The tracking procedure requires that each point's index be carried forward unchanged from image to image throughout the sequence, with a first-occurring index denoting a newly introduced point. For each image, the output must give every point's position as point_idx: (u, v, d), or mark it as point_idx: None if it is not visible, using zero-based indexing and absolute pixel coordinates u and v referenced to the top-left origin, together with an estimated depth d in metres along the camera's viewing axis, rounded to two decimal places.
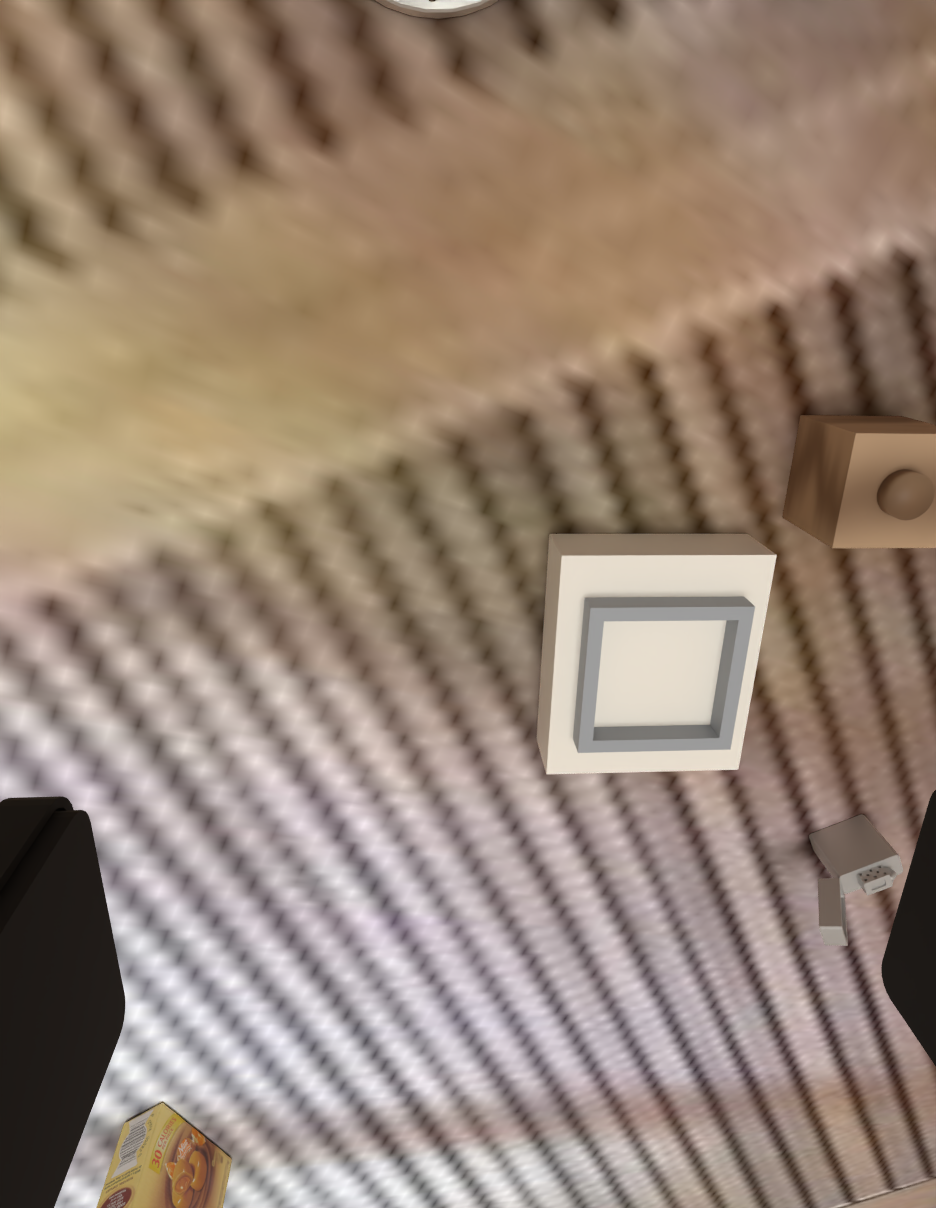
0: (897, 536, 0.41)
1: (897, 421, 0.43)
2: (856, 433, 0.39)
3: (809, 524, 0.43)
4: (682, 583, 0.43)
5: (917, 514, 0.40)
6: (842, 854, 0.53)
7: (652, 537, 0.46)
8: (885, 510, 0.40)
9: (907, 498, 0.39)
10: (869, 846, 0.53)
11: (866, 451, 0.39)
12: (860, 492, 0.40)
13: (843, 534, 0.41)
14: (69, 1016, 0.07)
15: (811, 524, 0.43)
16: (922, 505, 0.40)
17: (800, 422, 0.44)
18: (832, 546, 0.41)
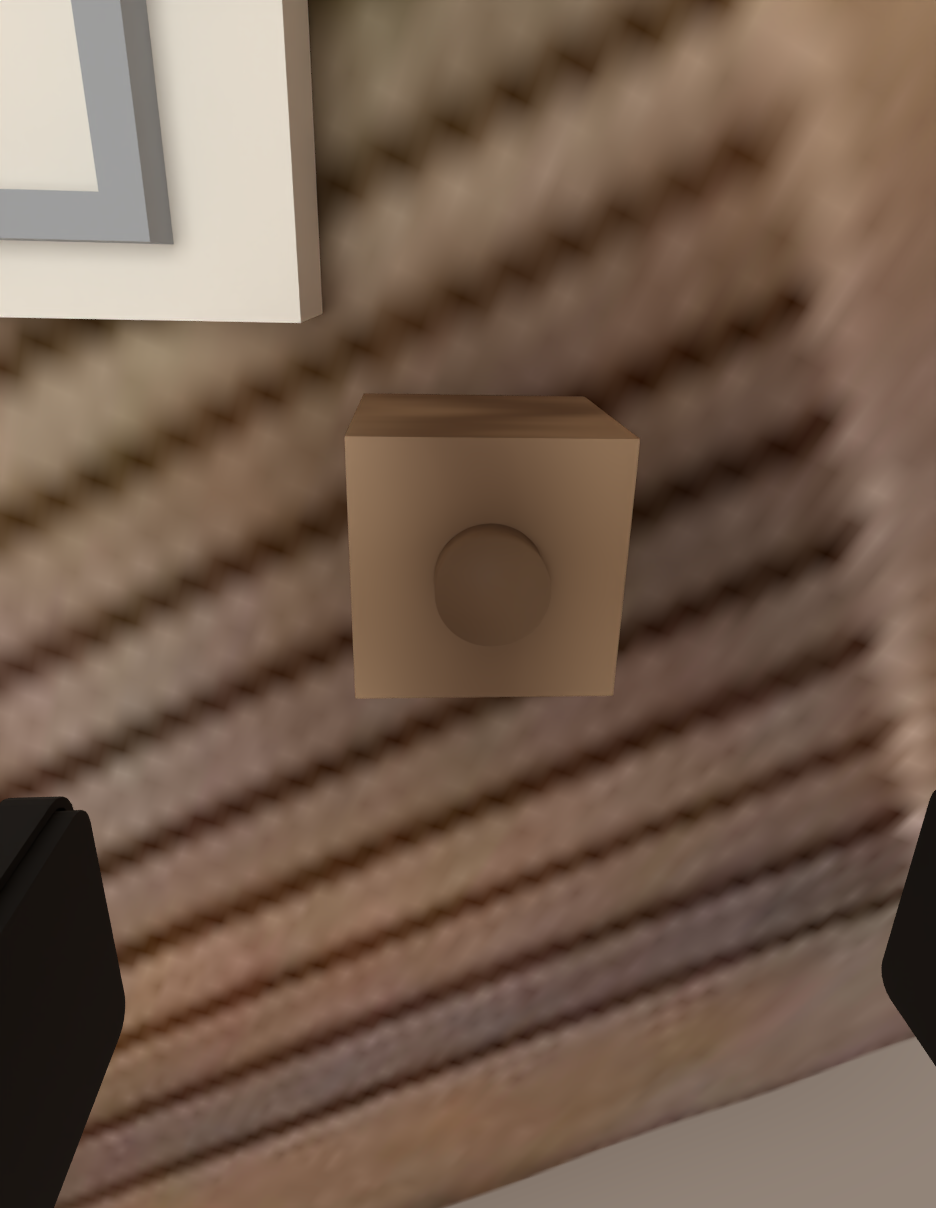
0: (379, 595, 0.17)
1: None
2: (638, 439, 0.16)
3: (376, 413, 0.18)
4: (194, 28, 0.14)
5: (449, 617, 0.16)
6: None
7: (304, 22, 0.17)
8: (452, 545, 0.16)
9: (490, 585, 0.16)
10: None
11: (592, 475, 0.16)
12: (493, 481, 0.16)
13: (383, 458, 0.16)
14: (69, 1016, 0.07)
15: (377, 414, 0.18)
16: (472, 624, 0.16)
17: (571, 396, 0.21)
18: (348, 437, 0.16)
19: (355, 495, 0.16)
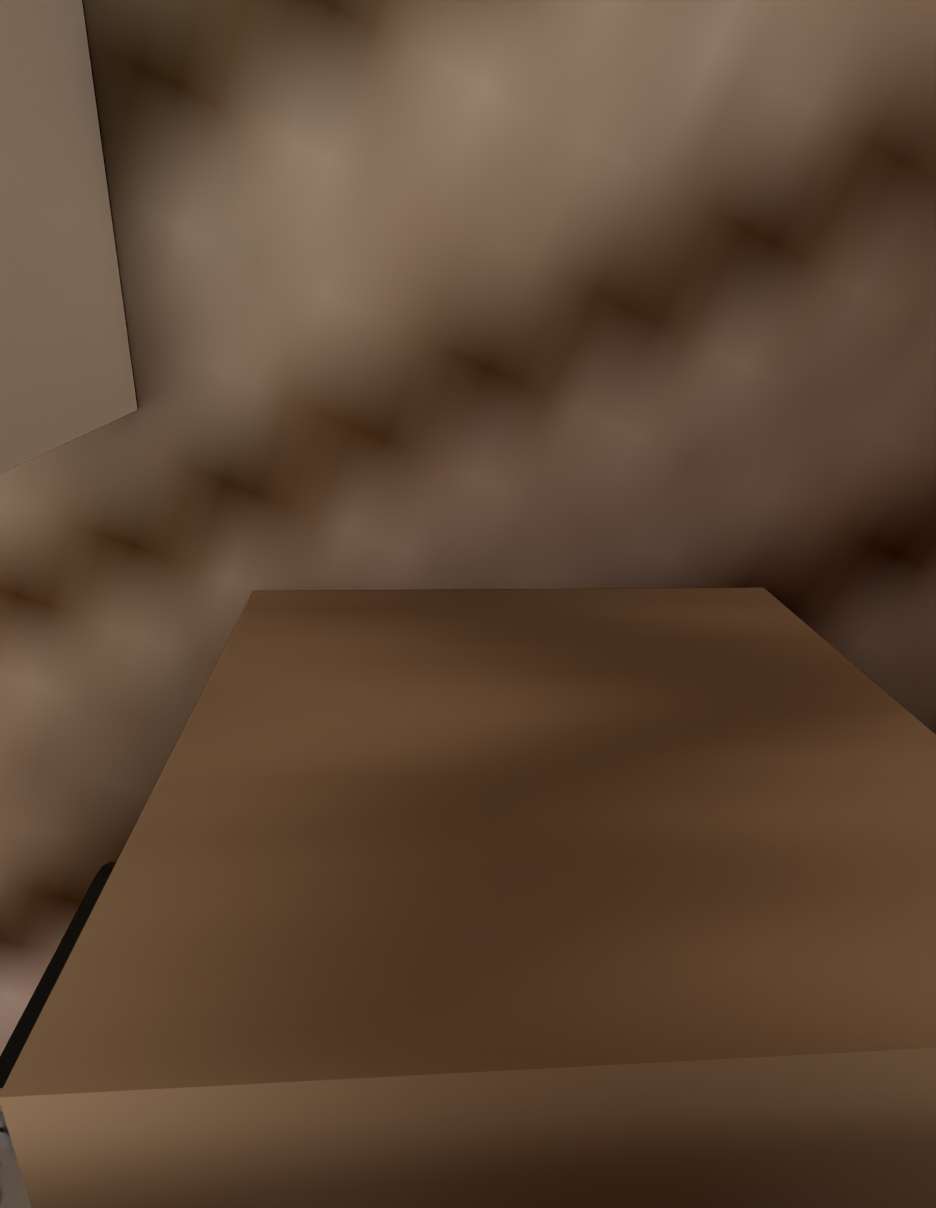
0: None
1: None
2: None
3: (240, 748, 0.06)
4: None
5: None
6: None
7: None
8: None
9: None
10: None
11: None
12: (659, 1187, 0.04)
13: (193, 1151, 0.04)
14: None
15: (240, 761, 0.06)
16: None
17: (739, 594, 0.09)
18: (22, 1090, 0.03)
19: None
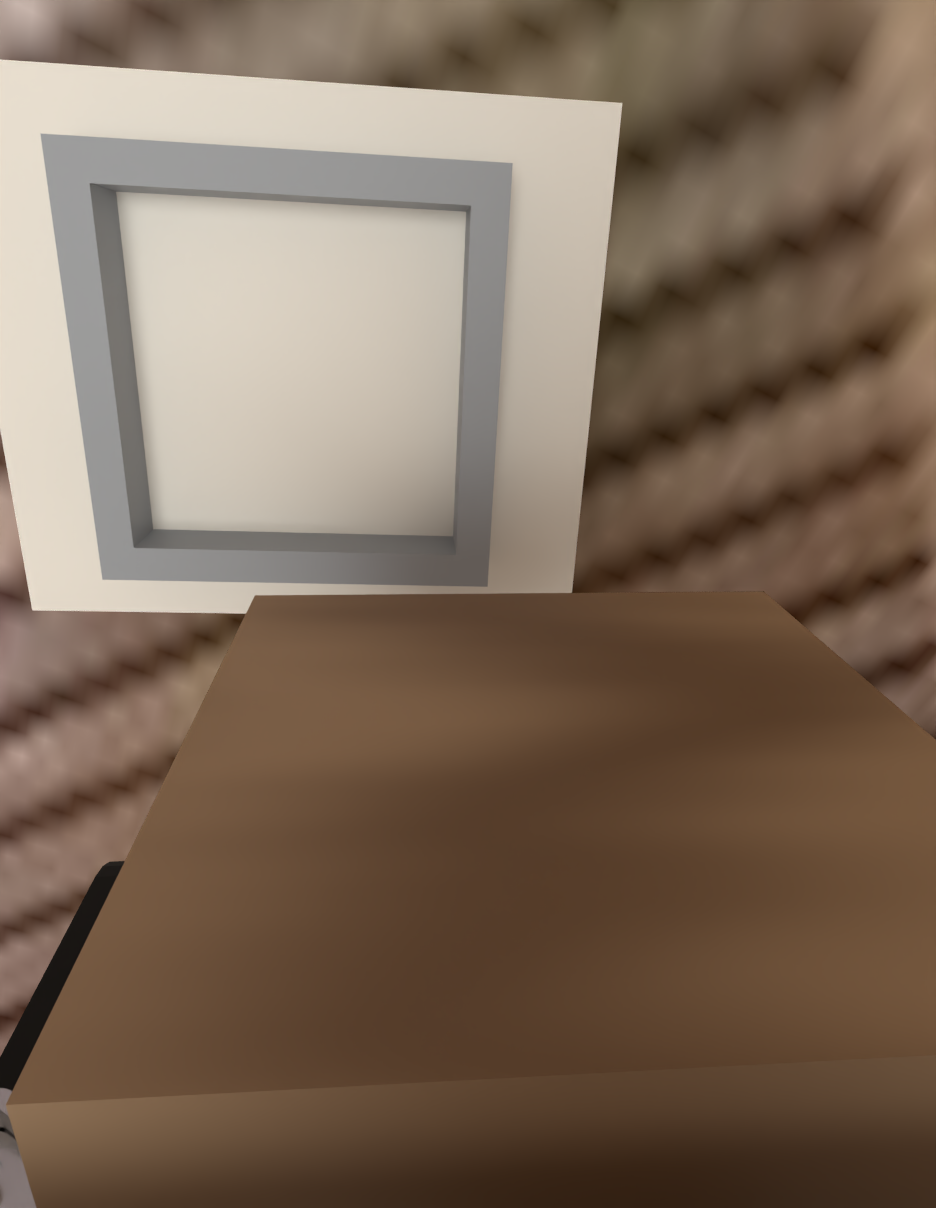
0: None
1: None
2: None
3: (243, 754, 0.06)
4: (523, 426, 0.19)
5: None
6: None
7: None
8: None
9: None
10: None
11: None
12: (661, 1192, 0.04)
13: (199, 1159, 0.04)
14: None
15: (243, 767, 0.06)
16: None
17: (739, 598, 0.09)
18: (29, 1097, 0.03)
19: None
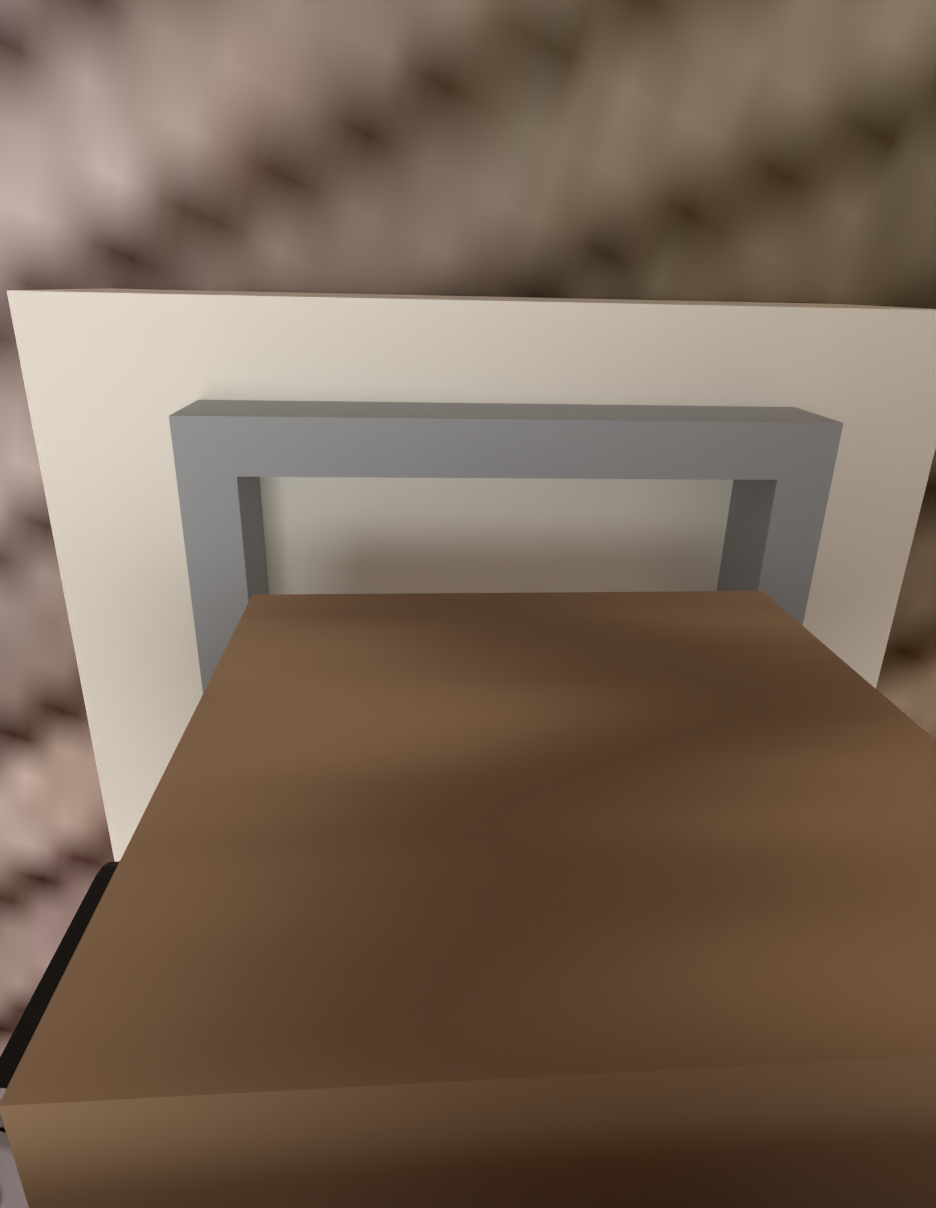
0: None
1: None
2: None
3: (240, 753, 0.06)
4: None
5: None
6: None
7: None
8: None
9: None
10: None
11: None
12: (658, 1193, 0.04)
13: (191, 1159, 0.04)
14: None
15: (239, 766, 0.06)
16: None
17: (738, 598, 0.09)
18: (22, 1098, 0.03)
19: None
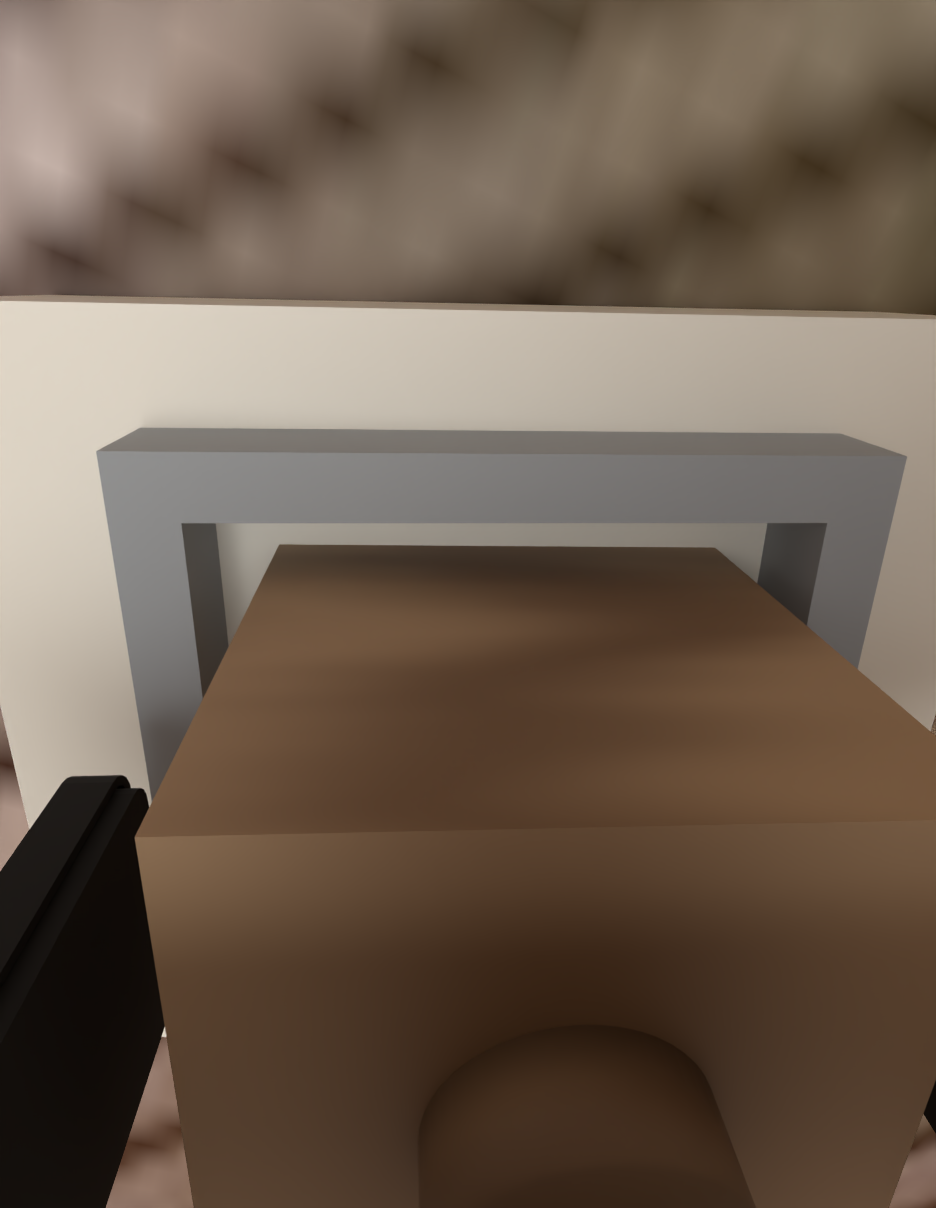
0: (269, 1184, 0.06)
1: None
2: None
3: (280, 650, 0.07)
4: None
5: None
6: None
7: None
8: (474, 1126, 0.05)
9: None
10: None
11: (877, 909, 0.06)
12: (593, 931, 0.05)
13: (264, 887, 0.05)
14: (131, 983, 0.08)
15: (280, 658, 0.07)
16: None
17: (693, 552, 0.11)
18: (149, 835, 0.05)
19: (183, 980, 0.05)
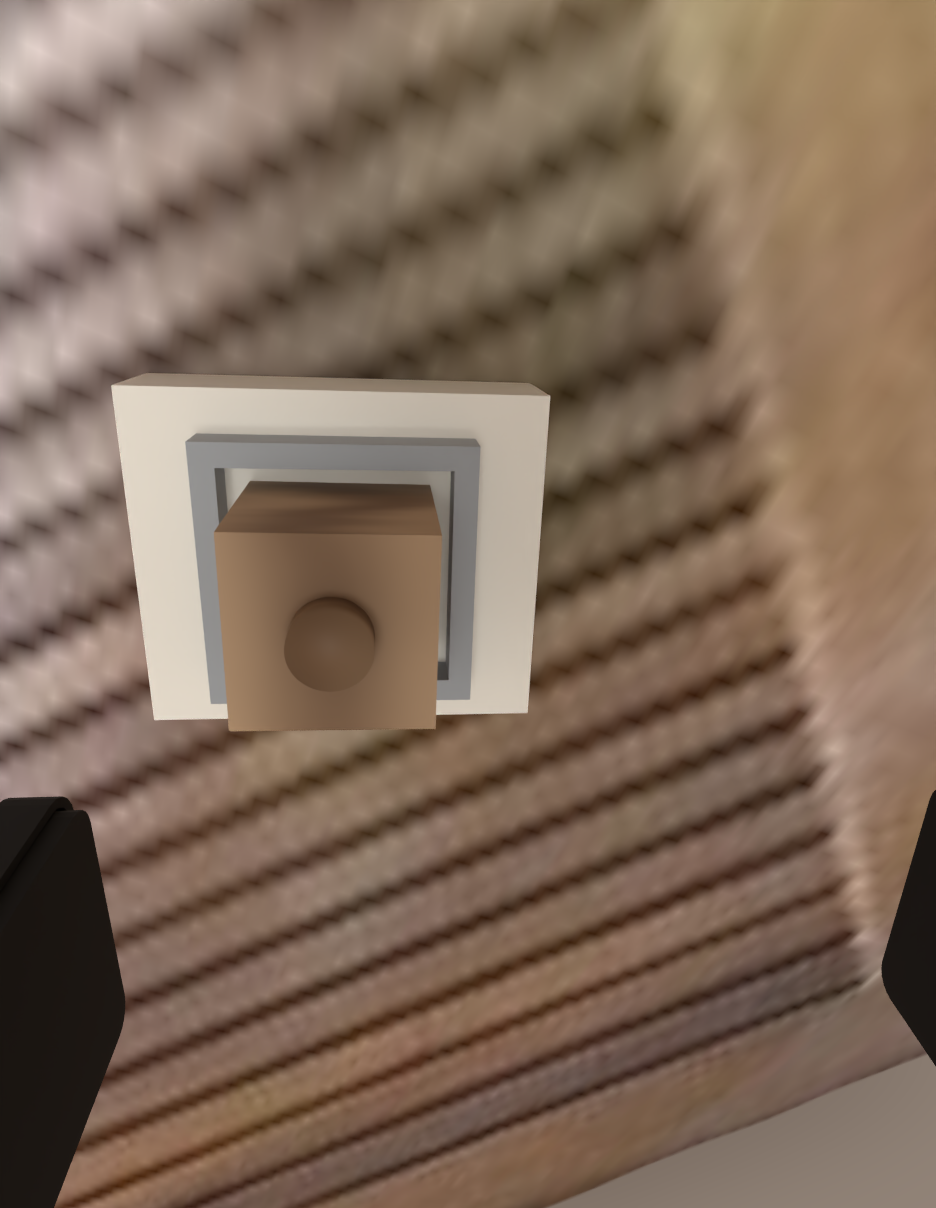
0: (245, 650, 0.22)
1: None
2: (440, 535, 0.21)
3: (249, 506, 0.23)
4: (491, 590, 0.28)
5: (296, 669, 0.21)
6: None
7: None
8: (299, 614, 0.21)
9: (327, 645, 0.21)
10: None
11: (407, 562, 0.21)
12: (330, 565, 0.21)
13: (244, 548, 0.21)
14: (69, 1015, 0.07)
15: (250, 508, 0.23)
16: (314, 675, 0.21)
17: (418, 485, 0.26)
18: (217, 532, 0.21)
19: (223, 575, 0.21)
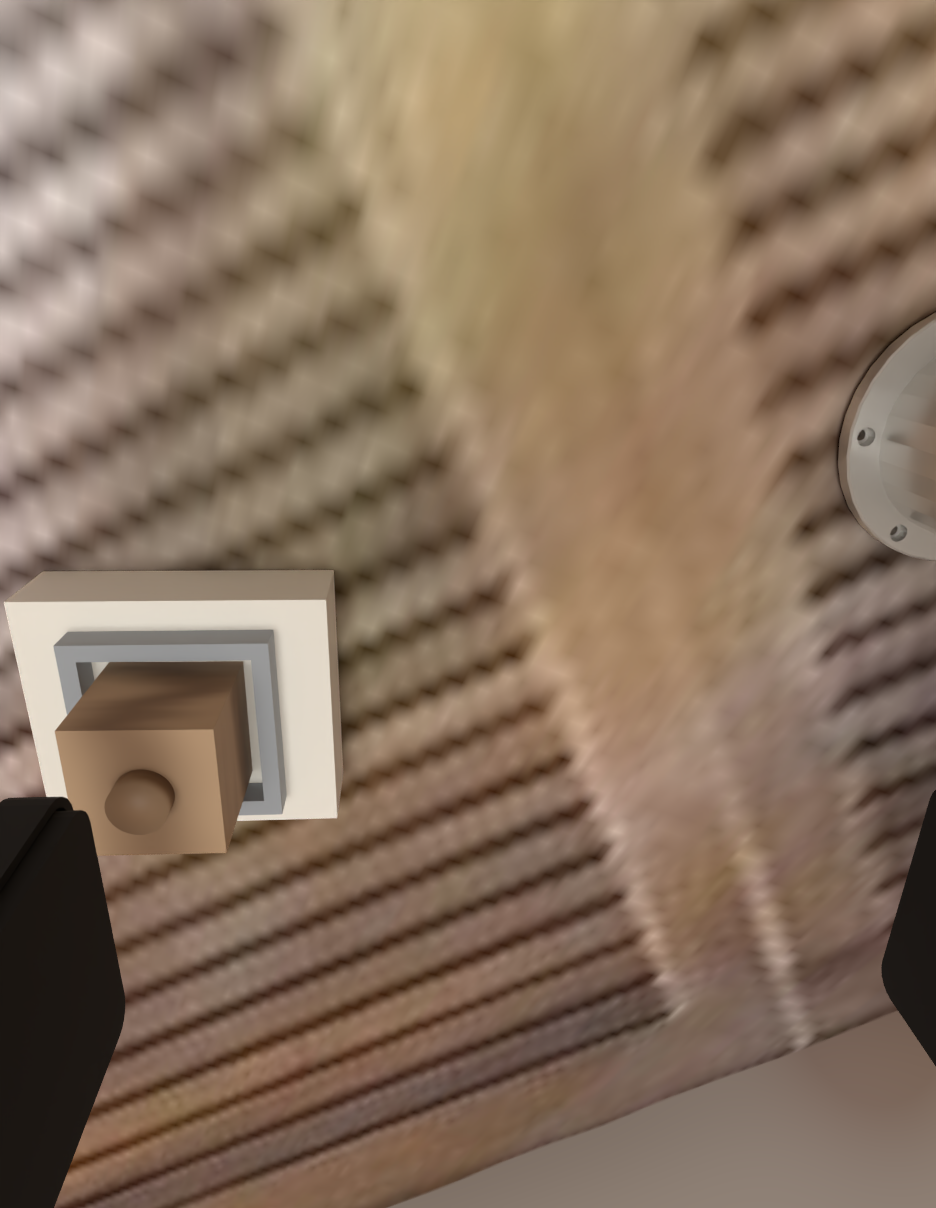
0: (84, 804, 0.32)
1: (241, 770, 0.36)
2: (212, 729, 0.31)
3: (93, 696, 0.33)
4: (298, 732, 0.38)
5: (114, 821, 0.31)
6: None
7: (337, 683, 0.41)
8: (116, 784, 0.31)
9: (134, 806, 0.31)
10: None
11: (191, 746, 0.31)
12: (138, 750, 0.31)
13: (76, 740, 0.30)
14: (69, 1016, 0.07)
15: (93, 698, 0.33)
16: (127, 824, 0.31)
17: (233, 663, 0.36)
18: (57, 731, 0.30)
19: (64, 757, 0.31)
